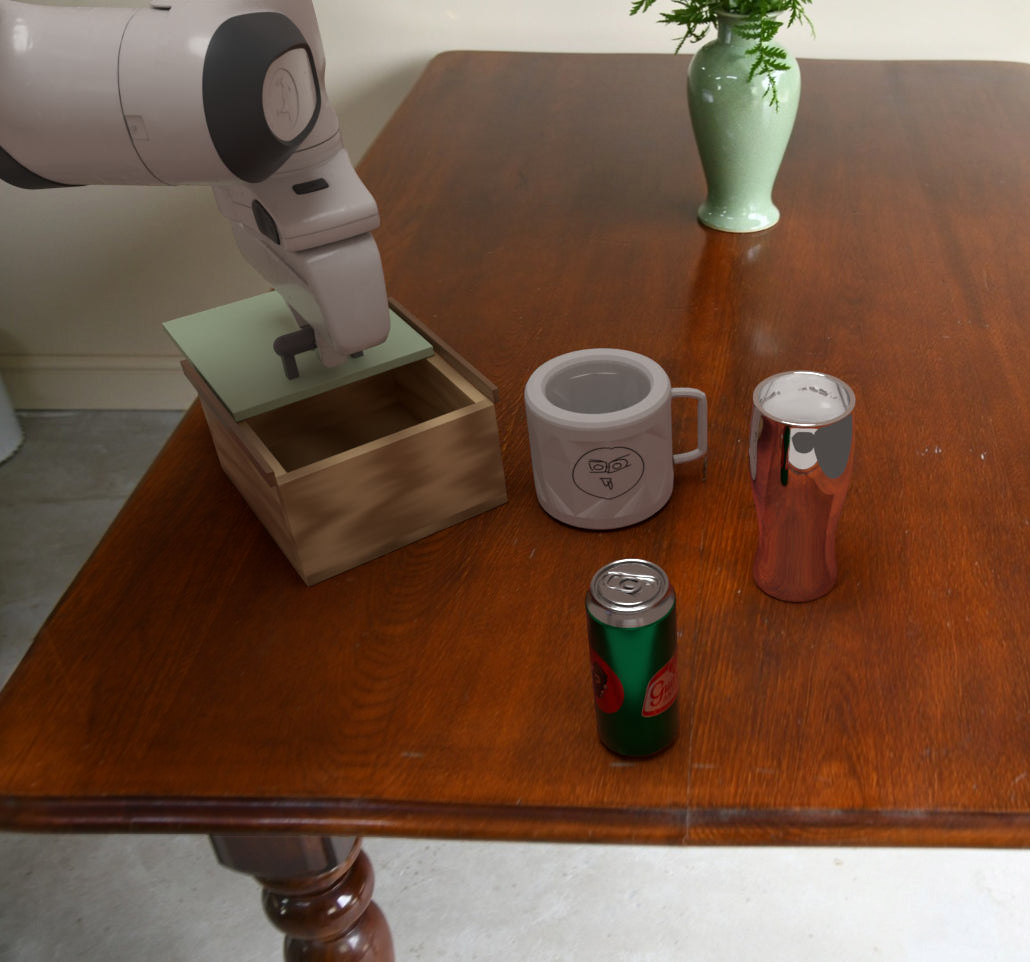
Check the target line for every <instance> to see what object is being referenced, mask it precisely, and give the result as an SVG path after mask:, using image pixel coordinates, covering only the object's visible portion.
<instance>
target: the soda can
mask: <svg viewBox="0 0 1030 962" xmlns="http://www.w3.org/2000/svg"><path fill="white" fill-rule="evenodd" d="M584 609H585V621H586V630H587V640H588V652H589V662H590V671H591V683H592V692H593V693H592V694H593V702H594V712H595V724H596V725H595V726H596V733H597V734H598V737H599V739H600V740H601V742H602V743H603V745H605V746H606V747H607V748H608V749H610V750H611V751H613V752H615V753H617V754H620V755H623V756H628V757H646V756H651V755H653V754H655V753H658V752H660V751H661V750H663V749H665V748H666V747H668V746H669V745H670V744H672V742H673V740H674V739H675V738H676V736H677V734H678V732H679V730H680V724H681V715H680V683H679V682H680V681H679V679H680V678H679V654H678V653H679V652H678V651H679V649H678V647H679V646H678V617H677V616H678V615H677V593H676V590H675V588H674V586H673V584H672V583H671V582H670V580H669V576H668V575H667V574H666V572H665V571H664V570H663V568H661V567H660V566H659V565H658V564H656V563H654V562H651V561H649V560H646V559H640V558H624V559H623V558H622V559H617V560H615V561H611V562H609V563H607V564H605V565H604V566H602V567H601V568H599V569H598V570H597V571H596V572H595V574H594V575H593V576H592V579H591V581H590V586H589V587H588V589H587V590H586V593H585V597H584Z"/></svg>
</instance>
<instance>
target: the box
mask: <svg viewBox="0 0 1030 962" xmlns="http://www.w3.org/2000/svg"><path fill="white" fill-rule="evenodd" d="M387 299H388V307H389V308H390V309H391V310H392V311H393V312H394V313H395V314H396V315H398V316H399V317H400V318H401V319H402V320H403V321H404V322H406V323H407V324H408V325H409V326H410V327H411V328H412V329H414V330H415V331H416V332H417V333H418V334H419V335H421V336H422V337H423V338H424V339H425V340H426V341H427V342H429V343H430V344H431V345H432V346H433V351H434V355H432V356H429V357H426V358H423V359H420V360H417V361H414V362H411V363H408V364H405V365H403V366H400V367H397V368H394V369H391V370H388V371H385V372H382V373H379V374H376V375H373V376H370V377H367V378H364V379H361V380H358V381H356V382H353V383H350V384H347V385H344V386H341V387H338V388H335V389H332V390H329V391H326V392H323V393H320V394H317V395H314V396H311V397H309V398H306V399H303V400H300V401H297V402H294V403H291V404H288V405H285V406H282V407H279V408H276V409H273V410H270V411H267V412H264V413H262V414H259V415H256V416H253V417H250V418H247V419H244V420H241V421H238V422H235V421H234V419H233V418H232V417H231V416H230V414H229V413H228V412H227V410H226V409H225V408H224V407H223V405H222V404H221V403H220V402H219V400H218V399H217V398H216V396H215V395H214V394H213V393H212V391H211V390H210V389H209V387H208V386H207V385H206V384H205V382H204V381H203V380H202V379H201V377H200V376H199V375H198V373H197V372H196V371H195V370H194V368H193V367H192V366H191V365H190V363H189V362H188V361H187V359H186V358H185V359H182V360H179V363H180V366H181V370H182V372H183V375H184V376H185V378H186V379H187V380H188V381H189V383H190V384H191V386H192V387H193V388H194V389H195V390H196V392H197V395H198V398H199V401H200V405H201V408H202V411H203V414H204V416H205V420H206V423H207V426H208V430H209V432H210V435H211V438H212V441H213V444H214V447H215V451H216V454H217V456H218V460H219V463H220V466H221V469H222V471H223V472H224V473H225V475H226V476H227V477H228V478H229V480H230V481H231V483H232V484H233V486H234V487H235V488H236V490H237V491H238V492H239V494H240V496H241V497H242V498H243V499H244V501H245V502H246V504H247V505H248V506H249V508H250V509H251V510H252V512H253V513H254V515H255V516H256V517H257V519H258V520H259V522H260V523H261V524H262V526H263V527H264V529H265V530H266V531H267V532H268V534H269V535H270V537H271V538H272V540H273V541H274V542H275V544H276V545H277V546H278V548H279V550H280V551H281V552H282V553H283V554H284V556H285V558H286V559H287V560H288V562H289V563H290V564H291V565H292V567H293V568H294V570H295V571H296V572H297V574H298V575H299V577H300V578H301V579H302V581H303V582H304V583H305V585H306V586H307V587H308V588H309V587H312V586H314V585H316V584H318V583H321V582H323V581H325V580H329V579H331V578H333V577H335V576H338V575H339V574H343V573H344V572H346V571H349V570H352V569H355V568H356V567H359V566H361V565H364V564H365V563H368V562H370V561H373V560H375V559H377V558H379V557H382V556H385V555H387V554H389V553H392V552H394V551H396V550H398V549H400V548H403V547H405V546H408V545H411V544H412V543H414V542H417V541H420V540H422V539H424V538H427V537H429V536H431V535H434V534H436V533H438V532H440V531H443V530H446V529H448V528H450V527H452V526H455V525H458V524H460V523H461V522H464V521H466V520H468V519H471V518H473V517H476V516H478V515H480V514H483V513H485V512H488V511H490V510H492V509H494V508H497V507H499V506H501V505H504V504H506V503H509V500H508V493H507V492H508V491H507V486H506V478H505V471H504V464H503V463H504V462H503V458H502V456H503V455H502V449H501V441H500V436H499V427H498V421H497V414H496V406H495V404H498V403H500V402H501V396H500V390H499V387H498V386H497V385H496V384H494V382H492V381H491V380H490V379H489V378H487V377H486V376H485V375H484V374H483V373H482V372H481V371H479V370H478V369H477V368H476V367H475V366H473V365H472V364H471V363H470V362H468V361H467V360H466V359H465V358H464V357H463V356H461V354H460V353H458V352H457V351H456V350H455V349H453V348H452V347H451V346H450V345H449V344H448V343H446V342H445V341H444V340H443V339H442V338H440V337H439V336H438V335H437V334H436V333H434V332H433V330H431V328H429V327H428V326H426V325H425V324H424V323H423V322H422V321H421V320H420V319H419V318H417V317H416V316H415V315H414V314H413V313H411V312H410V311H409V310H408V309H407V308H405V307H404V306H403V305H402V304H401V303H400V302H399V301H397V300H396V299H395V298H393V296H387Z"/></svg>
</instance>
